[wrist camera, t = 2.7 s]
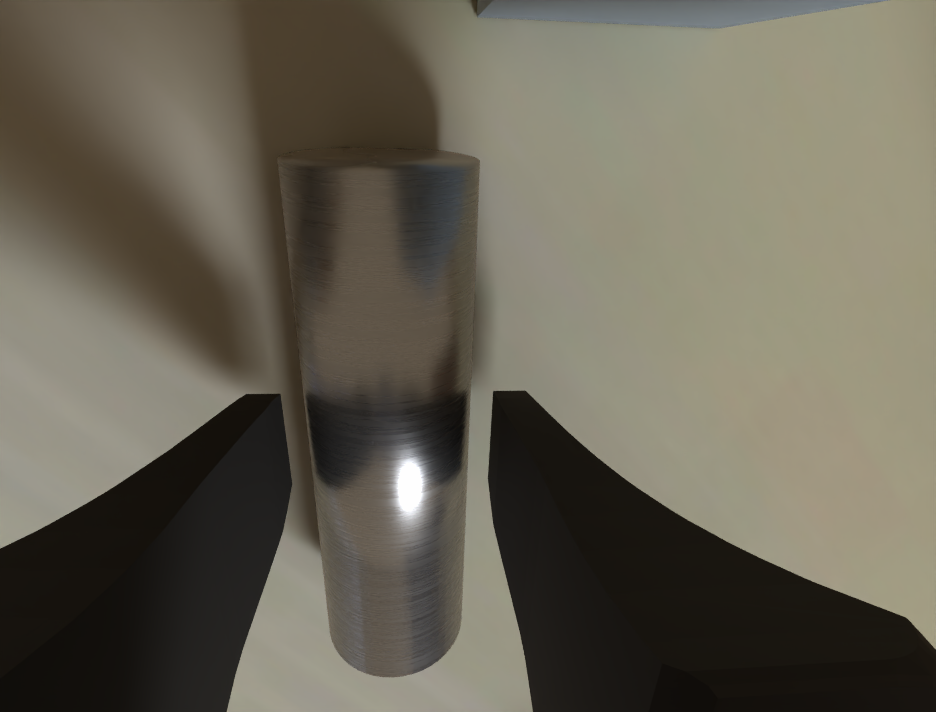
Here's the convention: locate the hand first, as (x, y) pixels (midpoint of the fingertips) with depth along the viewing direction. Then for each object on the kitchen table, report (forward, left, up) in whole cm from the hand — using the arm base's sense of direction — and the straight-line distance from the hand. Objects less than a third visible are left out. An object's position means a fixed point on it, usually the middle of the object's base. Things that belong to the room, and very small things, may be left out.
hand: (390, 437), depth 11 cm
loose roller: (0, 0, -2) cm, 2 cm away
